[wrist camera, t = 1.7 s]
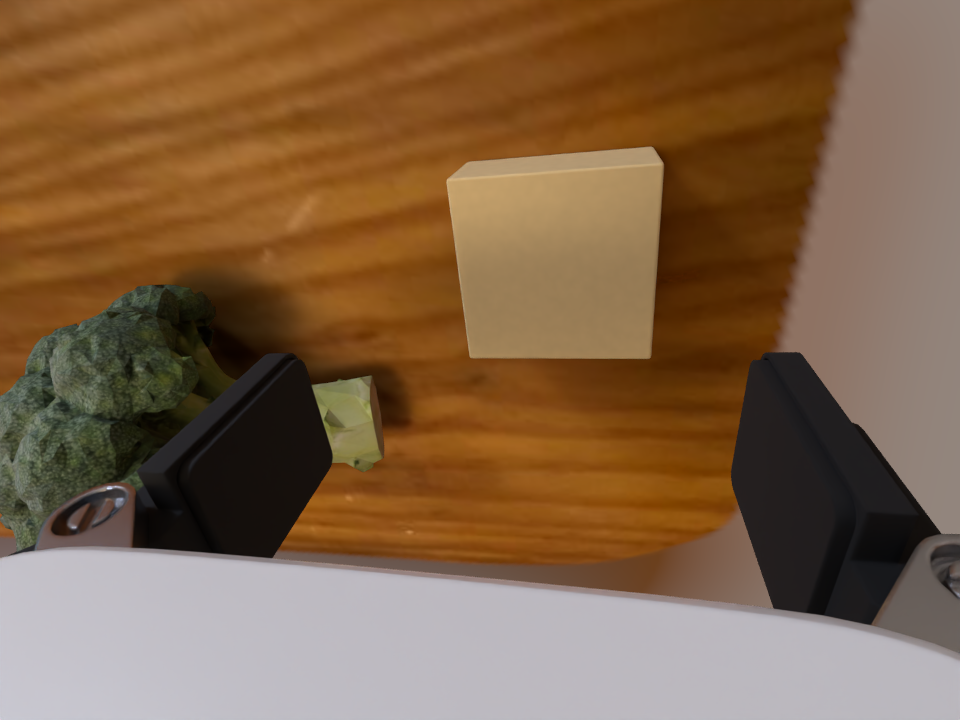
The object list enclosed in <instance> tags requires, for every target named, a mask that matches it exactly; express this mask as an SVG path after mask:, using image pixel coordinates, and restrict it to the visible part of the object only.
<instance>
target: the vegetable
mask: <svg viewBox="0 0 960 720" xmlns="http://www.w3.org/2000/svg"><path fill="white" fill-rule="evenodd" d="M215 317H216V313H215V307H213V306H212V302H211V300H210V299H209V298H208V297H207V296H206V295H205V294H204V293H203V292H202V291H201V292H198V293H196V294H194V293H193V291H192V290H191V288H186V287H180V286H175V285H149V286H138V287H137V288H136V289H135V290H133V291H131V292H128V293H126V294H124V295H123V296H121V297H120V298H118V299H117V300H115V301H114V302H113V303H112V304H111V305H110V306H109V307H108V309H106V310H103V312H102V313H101V314H99V315H97V316H94V317H92V318H90V319H88V320H84V321H82V322H81V324H80V326H77V324H74V325H70V326H67V327H63V328H59V329H56V330H55V331H54V332H53V333H52V334H51V335H49V336H44V337H42V338H41V339H40V340H39V341H38V342H37V343H36V344H35V346H34V348H33V350H32V352H31V354H30V356H29V357H28V359H27V364H26V370H25V375H24V376H22V377H20V378H19V380H18V381H17V382H16V383H15V385H14V386H13V387H12V388H11V389H10V390H9V391H8V392H6V393H5V394H3V395H2V396H0V513H1V514H2V516H1V518H0V521H1V522H2V523H3V525H4V526H5V527H6V528H8V529H10V530H13V532H14V535H15V538H16V546H17V552H18V551H20V550H22V549H25V548H27V547H30V546H32V545H34V544H36V542H37V538H38V535H39V531H40V529H41V527H42V525H43V523H44V521H45V519H46V518H47V517H48V516H49V515H50V514H51V513H52V512H53V511H54V510H55V509H56V508H58V507H59V506H60V505H62V504H63V503H64V502H65V501H67V500H69V499H70V498H72V497H74V496H76V495H77V494H79V493H81V492H84V491H86V490H88V489H91V488H93V487H96V486H99V485H103V484H106V483H114V482H123V483H129V484H130V485H131V486H133V487H134V488H135V490H136V492H137V491H138V490H139V489H140V488H141V487H142V486H143V485H144V484H143V483H142V481H141V479H140V477H139V475H138V474H137V472H136V471H137V470H138V469H139V468H140V467H141V466H142V465H143V464H144V463H145V462H147V461H148V460H149V459H150V458H151V457H152V456H153V455H154V454H156V453H157V452H158V451H159V450H160V449H161V448H162V447H163V446H164V445H166V444H167V443H168V442H169V441H170V440H171V439H172V438H173V437H174V436H176V435H177V434H178V433H179V432H180V431H181V430H182V429H183V428H184V427H186V426H187V425H188V424H189V423H190V422H191V421H192V420H193V419H194V418H196V417H197V416H198V415H199V414H200V413H201V412H202V411H203V410H204V409H206V408H207V407H208V406H209V405H210V404H211V403H212V402H213V401H214V400H216V399H217V398H218V397H219V396H220V395H221V394H222V393H223V392H224V391H226V390H227V389H228V388H229V387H230V386H231V385H232V384H233V383H234V382H236V381H237V380H235V379H233V378H231V377H229V376H227V375H226V374H225V373H224V372H223V371H222V370H221V369H220V368H219V367H218V365H217V363H216V362H215V360H214V358H213V357H212V355H211V353H210V351H209V350H208V348H207V347H209V346H211V345H212V337H213V334H214V331H215V329H212V328H210V327H209V325H210V323H211V322H212V321H213V319H214V318H215ZM312 388H313V391H314V394H315V398H316V401H317V404H318V407H319V410H320V414H321V417H322V420H323V423H324V427H325V430H326V433H327V436H328V439H329V443H330V446H331V449H332V453H333V460H332V463H341V462H345V463H347V464H349V465H351V466H352V467H354V468H356V469H358V470H360V471H362V472H365V471H367V470H369V469H370V468H372V467H373V463H374V462H376V461H378V460H380V459H382V458H384V441H383V432H382V422H381V413H380V408H379V403H378V397H377V389H376V386H375V385H374V381H373V377H372V375H371V376H366V377H361V378H355V379H350V380H341V379H339V380H338V381H337V382H330V383H323V384H316V385H312Z"/></svg>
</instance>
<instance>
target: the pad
mask: <svg viewBox="0 0 960 720" xmlns="http://www.w3.org/2000/svg"><path fill="white" fill-rule="evenodd" d="M663 176H664V163H663V162H662V160H661V158H660V157H659V155H658V154H657V152H656V151H655V149H654V148H653V147H642V148H630V149H618V150H606V151H594V152H582V153H570V154H558V155H545V156H533V157H521V158H509V159H497V160H485V161H473V162H468V163H466V164H465V165H464V166H463V167H461V168H460V169H459V170H458V171H457V172H455V173H454V174H453V175H452V176H451V177H449V178H448V179H447V181H446V182H447V190H448V197H449V204H450V212H451V219H452V227H453V234H454V242H455V249H456V257H457V264H458V272H459V279H460V287H461V294H462V302H463V309H464V317H465V324H466V332H467V339H468V347H469V354H470V357H471V358H560V359H650V357H651V351H652V336H653V321H654V307H655V292H656V278H657V263H658V249H659V234H660V220H661V205H662V190H663Z"/></svg>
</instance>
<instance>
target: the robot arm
mask: <svg viewBox="0 0 960 720" xmlns="http://www.w3.org/2000/svg"><path fill="white" fill-rule="evenodd" d="M332 460H333V453H332V449H331V446H330V443H329V439H328V436H327V433H326V430H325V427H324V423H323V420H322V417H321V414H320V410H319V407H318V404H317V401H316V398H315V394H314V391H313V388H312V385H311V382H310V378H309V375H308V372H307V369H306V366H305V364H304V362H303V361H302V360H299V359H298V358H297V356H296V355H294V354H292V353H270V354H266V355H265V356H263V357H262V358H261V359H260V360H259V361H258V362H257V363H256V364H255V365H253V366H252V367H251V368H250V369H249V370H248V371H247V372H246V373H245V374H243V375H242V376H241V377H240V378H239V379H238V380H237V381H236V382H234V383H233V384H232V385H231V386H230V387H229V388H228V389H227V390H226V391H224V392H223V393H222V394H221V395H220V396H219V397H218V398H217V399H216V400H214V401H213V402H212V403H211V404H210V405H209V406H208V407H207V408H206V409H204V410H203V411H202V412H201V413H200V414H199V415H198V416H197V417H196V418H194V419H193V420H192V421H191V422H190V423H189V424H188V425H187V426H186V427H184V428H183V429H182V430H181V431H180V432H179V433H178V434H177V435H176V436H174V437H173V438H172V439H171V440H170V441H169V442H168V443H167V444H166V445H164V446H163V447H162V448H161V449H160V450H159V451H158V452H157V453H156V454H154V455H153V456H152V457H151V458H150V459H149V460H148V461H147V462H145V463H144V464H143V465H142V466H141V467H140V468H139V469H138V470H137V471H136V472H137V474H138V475H139V477H140V479H141V481H142V483H143V484H144V485H143V486H142V487H141V488H140V489H139V490H138V491H137V492H136V490H135V488H134V487H133V486H131V485H130V484H129V483H123V482H114V483H106V484H103V485H99V486H96V487H93V488H91V489H88V490H86V491H84V492H81V493H79V494H77V495H76V496H74V497H72V498H70V499H69V500H67V501H65V502H64V503H63V504H62V505H60V506H59V507H58V508H56V509H55V510H54V511H53V512H52V513H51V514H50V515H49V516H48V517H47V518H46V519H45V521H44V523H43V525H42V527H41V529H40V531H39V535H38V538H37V542H36V544H34V545H32V546H30V547H27V548H25V549H22V550H20V551H18V552H15V553H13V554H11V555H8V556H6V557H3V558H0V720H960V534H941V533H940V531H939V530H938V529H937V527H936V526H935V525H934V523H933V522H932V521H931V519H930V518H929V517H928V515H927V514H926V513H925V511H924V510H923V509H922V507H921V506H920V505H919V503H918V502H917V501H916V499H915V498H914V497H913V495H912V494H911V493H910V491H909V490H908V489H907V487H906V486H905V485H904V483H903V482H902V480H901V479H900V478H899V477H898V475H897V474H896V472H895V471H894V470H893V468H892V467H891V466H890V465H889V463H888V462H887V461H886V459H885V458H884V457H883V455H882V454H881V452H880V451H879V450H878V448H877V447H876V446H875V444H874V443H873V442H872V440H871V439H870V438H869V436H868V435H867V434H866V433H865V431H864V430H863V429H862V428H861V427H860V426H859V425H857V424H854V423H852V422H851V421H850V420H849V418H848V417H847V416H846V414H845V413H844V411H843V410H842V409H841V407H840V406H839V404H838V403H837V402H836V400H835V399H834V398H833V397H832V395H831V394H830V392H829V391H828V390H827V388H826V387H825V386H824V384H823V383H822V381H821V380H820V379H819V377H818V376H817V374H816V373H815V372H814V370H813V369H812V368H811V366H810V365H809V363H808V362H807V361H806V359H805V358H804V357H803V355H802V354H801V353H797V352H794V353H792V352H781V353H764V354H763V356H762V358H761V360H753V361H752V362H751V364H750V368H749V374H748V379H747V385H746V391H745V396H744V402H743V407H742V413H741V418H740V424H739V430H738V435H737V441H736V446H735V452H734V458H733V463H732V469H731V480H732V486H733V490H734V493H735V496H736V499H737V502H738V505H739V507H740V510H741V513H742V516H743V519H744V522H745V525H746V528H747V531H748V534H749V537H750V540H751V543H752V546H753V549H754V552H755V555H756V558H757V561H758V564H759V566H760V570H761V572H762V576H763V578H764V581H765V584H766V587H767V590H768V593H769V596H770V599H771V602H772V605H773V608H774V609H773V608H766V607H758V606H751V605H742V604H734V603H726V602H716V601H708V600H698V599H689V598H680V597H671V596H662V595H654V594H644V593H634V592H623V591H614V590H603V589H593V588H583V587H573V586H563V585H553V584H543V583H542V584H541V583H532V582H522V581H511V580H502V579H492V578H481V577H471V576H460V575H449V574H439V573H427V572H417V571H407V570H406V571H405V570H395V569H385V568H373V567H363V566H352V565H341V564H330V563H319V562H307V561H295V560H285V559H273V556H274V555H275V553H276V552H277V550H278V549H279V547H280V545H281V544H282V542H283V541H284V539H285V538H286V536H287V534H288V533H289V531H290V530H291V528H292V527H293V525H294V524H295V522H296V520H297V519H298V517H299V516H300V514H301V513H302V511H303V510H304V508H305V506H306V505H307V503H308V502H309V500H310V499H311V497H312V495H313V494H314V492H315V491H316V489H317V488H318V486H319V485H320V483H321V481H322V480H323V478H324V477H325V475H326V474H327V472H328V471H329V469H330V467H331V465H332Z"/></svg>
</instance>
